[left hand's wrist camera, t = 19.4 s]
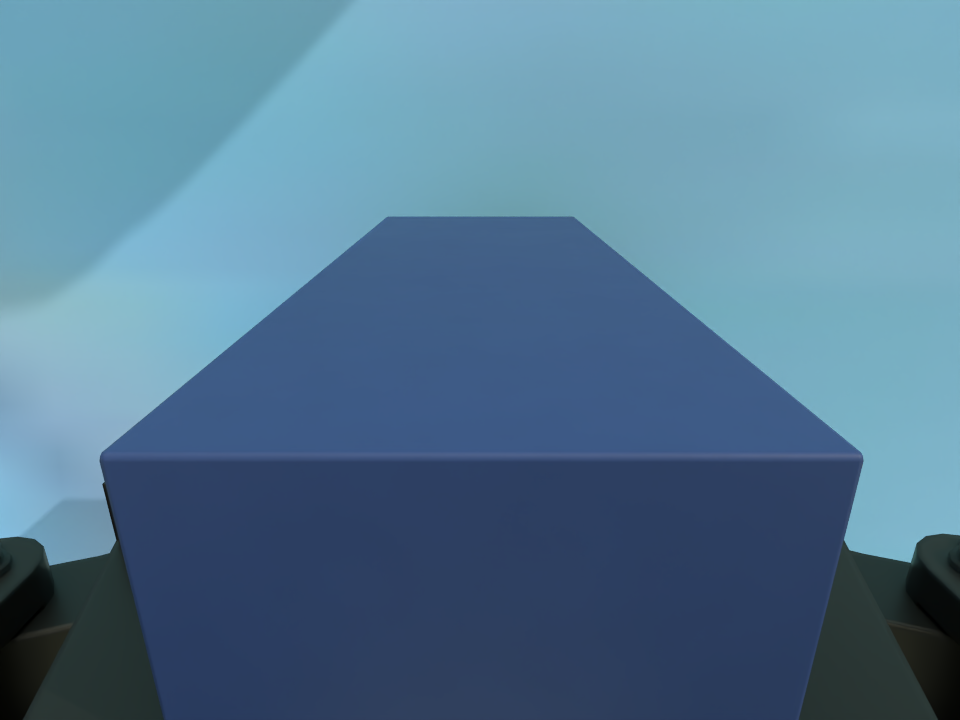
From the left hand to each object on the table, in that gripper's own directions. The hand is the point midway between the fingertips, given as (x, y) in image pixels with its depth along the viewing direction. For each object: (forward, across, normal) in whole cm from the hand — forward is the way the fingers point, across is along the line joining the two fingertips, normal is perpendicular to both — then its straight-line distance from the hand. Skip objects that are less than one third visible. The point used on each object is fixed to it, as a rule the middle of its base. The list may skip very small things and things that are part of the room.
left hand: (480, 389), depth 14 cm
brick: (+2, 0, 0) cm, 2 cm away
